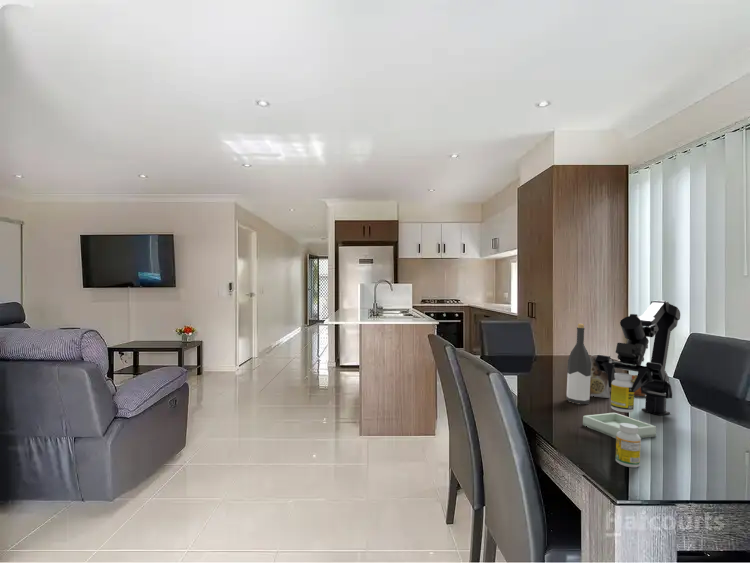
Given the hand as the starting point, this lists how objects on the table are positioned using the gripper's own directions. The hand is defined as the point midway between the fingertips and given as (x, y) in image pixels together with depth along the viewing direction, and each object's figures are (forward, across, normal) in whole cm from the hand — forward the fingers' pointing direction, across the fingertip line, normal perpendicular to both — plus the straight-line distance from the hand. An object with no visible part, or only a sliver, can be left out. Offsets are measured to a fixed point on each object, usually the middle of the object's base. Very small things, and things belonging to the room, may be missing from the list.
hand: (620, 389), depth 132 cm
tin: (-30, -16, +50) cm, 60 cm away
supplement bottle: (+26, +10, -8) cm, 29 cm away
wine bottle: (-7, -23, +27) cm, 36 cm away
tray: (+9, -1, +10) cm, 13 cm away
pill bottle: (+4, 0, +6) cm, 7 cm away
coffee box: (-19, -23, +39) cm, 49 cm away
